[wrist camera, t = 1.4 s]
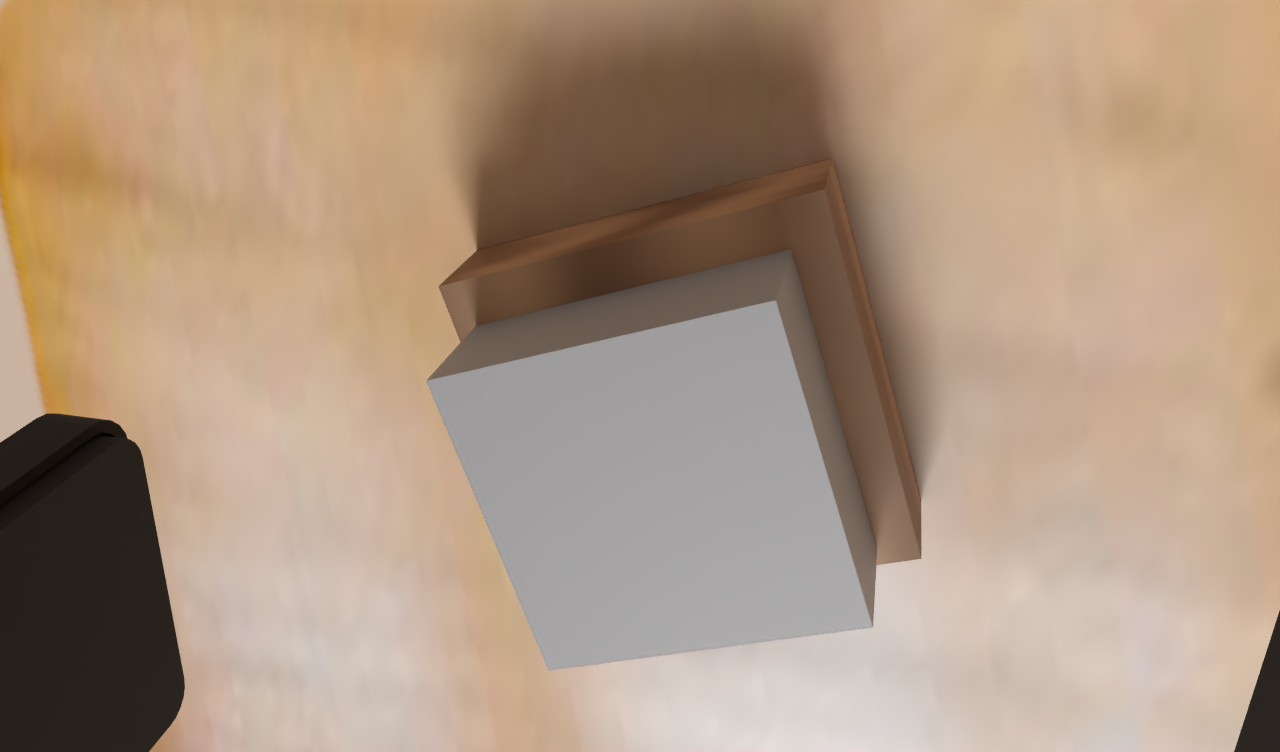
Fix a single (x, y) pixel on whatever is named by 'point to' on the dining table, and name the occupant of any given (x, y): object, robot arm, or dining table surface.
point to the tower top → (664, 467)
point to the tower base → (712, 237)
